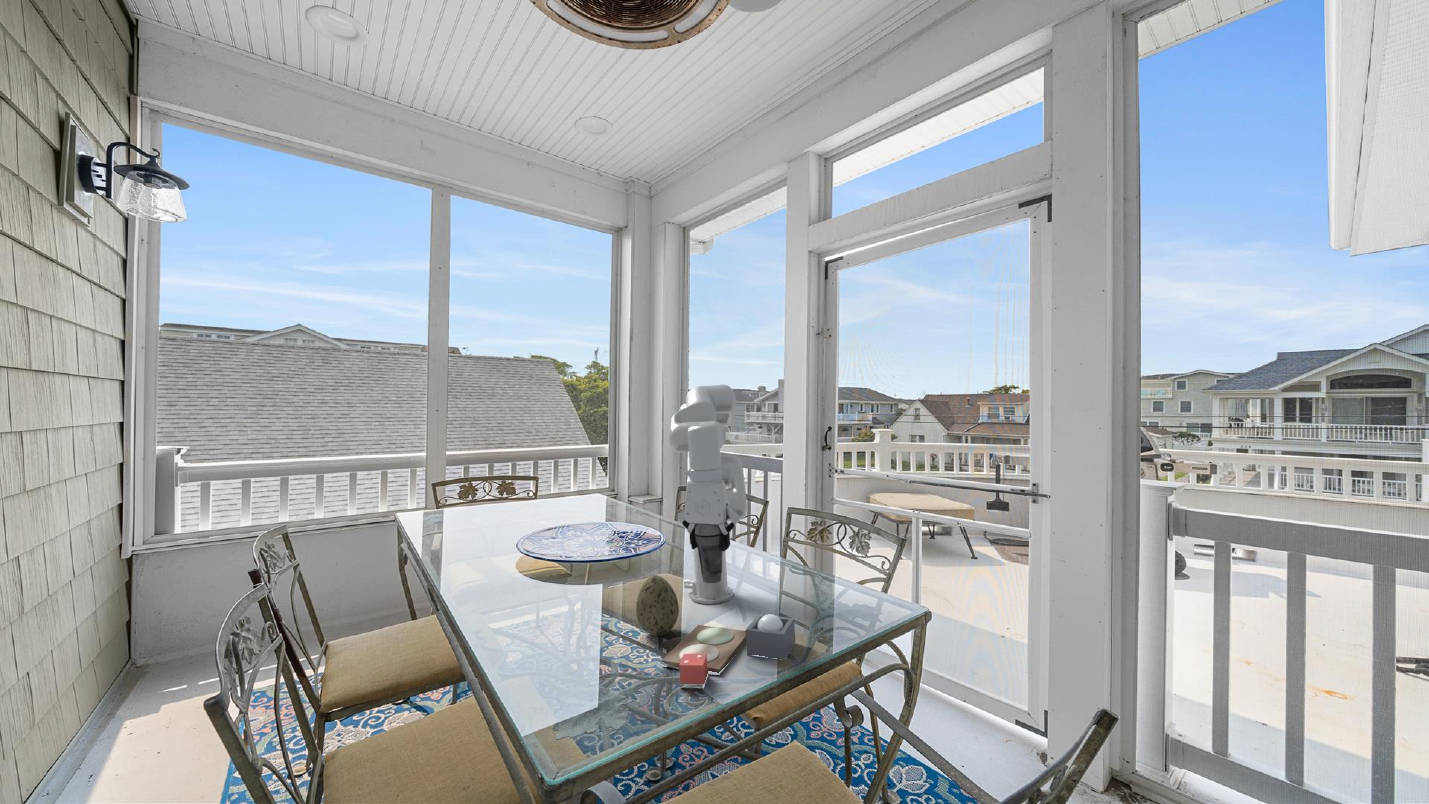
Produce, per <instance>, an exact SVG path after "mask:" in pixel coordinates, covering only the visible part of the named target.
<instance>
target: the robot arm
mask: <svg viewBox="0 0 1429 804" xmlns="http://www.w3.org/2000/svg"><path fill="white" fill-rule="evenodd" d="M736 408H737V400H736V394H735V392H734V390H733V388H732V387H731V386H729V385H727V384H717V385H716V384H715V385H713V384H712V385H699V386H695V387H693V388H691V389H690V390H688V392H687V394H686V397H685V403H684V404H682V405H681V406H680V407H679V410H678V411H676V412H675V413H674V414H673V415H672V416H671V419H670V422H669V429H668V441H669V445H670V447H671V449H672V450H673V451H675V452H676V453H680V454H681V453H688V459H689V460H688V461H689V469H688V470H686V471H685V472H684V476H685V477H688V478H689V480H690V481H687V482H686V490H685V501H684V502H685V505H684V506H685V508H684V509H682V510H681V511H680V512H679V513H678V514H677V518H678V520H679V521H680V523H682V526H683V527H684V528H685V530H686V531H687V532H688V533H689V544H690V545H691V546H690V547H691V550H692V553H693V566H694V567H693V568H694V580H693V579H684V582H683V586H684V589H691V592H690V599H691V600H692V601H693V602H695V603H698V604H703V605H704V604H705V605H713V604H715V605H716V604H721V603H724V602H727V601H729V600H731V599H732V598H733V597H734V590H733V589H732V588H731V587H730V586H728V572H727V570H728V569H727V553H726V552H727V550H729V548H730V546H731V535H730V533H731V532H732V530H733V529H734V528H735V527H736V526H737V524H738V523H739V522H740V521H742V520H744V519H745V518H746V517H747V514H748V503H747V502H748V500H747V499H748V498H747V493H746V484H745V475H744V467H743V464H742V461H741V460H740V458H739V457H738V456H735V455H721V449H722V448H723V447H724V444H725V443H726V440H727V435H726V434H727V433H726V429H725V427H730V426H732V425H733V424H734V422H735V419H736V417H735V416H736ZM729 522H730V523H729ZM697 524H708V525H718V526H719V527H720V529H721V531H722V535H721V550H722V575H721V581H720V582H717V583H705V582H703V578H702V574H701V567H700V560H699V553H698V546H697V542H696V538H695V535H694V534H695V527H696V525H697Z"/></svg>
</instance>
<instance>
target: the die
mask: <svg viewBox="0 0 1429 804" xmlns="http://www.w3.org/2000/svg"><path fill="white" fill-rule="evenodd" d="M707 674H708V667H707V654H684V655H683V657H682V660H681V662H680V664H679V683H680V684H704V683H705V680H706V677H707ZM708 675H709V674H708ZM680 684H679V685H680Z"/></svg>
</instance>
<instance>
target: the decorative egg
mask: <svg viewBox="0 0 1429 804" xmlns="http://www.w3.org/2000/svg"><path fill="white" fill-rule="evenodd" d="M635 608H636V609H635V612H636V613H635V614H636V619H637V621H638V623H639V625H640V627H641V628H642V630H644V631H645V632H646V633H648V634H649V635H652V636H659V637H660V636H663V635H665V634H668V633H669V632H671V630H672V629H673V628H674V627H675V625H676V623H677V621H678V619H679V612H680V607H679V602H678V597H677V594H676V593H675V590H674V588H673V587H672V585H671V584H670V583H669V582H668V580H667V579H666V578H664V577H662V576H660V575H657V574H656V575H651V576H649V577H648V578H647V579H646V580H645V581H644V582H643V584H642V585H641V587H640V589H639V592H638V595H637V598H636V605H635Z"/></svg>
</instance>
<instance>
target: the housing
mask: <svg viewBox="0 0 1429 804" xmlns="http://www.w3.org/2000/svg"><path fill="white" fill-rule="evenodd" d="M765 615H766V614H760V613H759V614H757V615H756V616H755V617H754V619H753V620H752V621H751V623H749V625H748V626H747V627H746V628H745V631H746V643H745V644H746V656H748V655H759V656H765V657H768V658H767V659H769V658H777V659H782V660H781V661H783V660H785V661H786V659H787V658H788V656H789V655H790V653H789V652H791V651H792V650H793V648H794V646H795V645H796V629H795V628H796V627H795V618H793V617H783V616H777V617H778V618H779V619H780V620H781V621H782V624H783V629H782V630H781V632H776V631H768V630H760V629H758V622H759V620H760V619H761V618H762V617H763V616H765ZM791 649H792V650H791ZM788 654H789V655H788ZM787 655H788V656H787ZM786 657H787V658H786ZM785 658H786V659H785Z"/></svg>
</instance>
